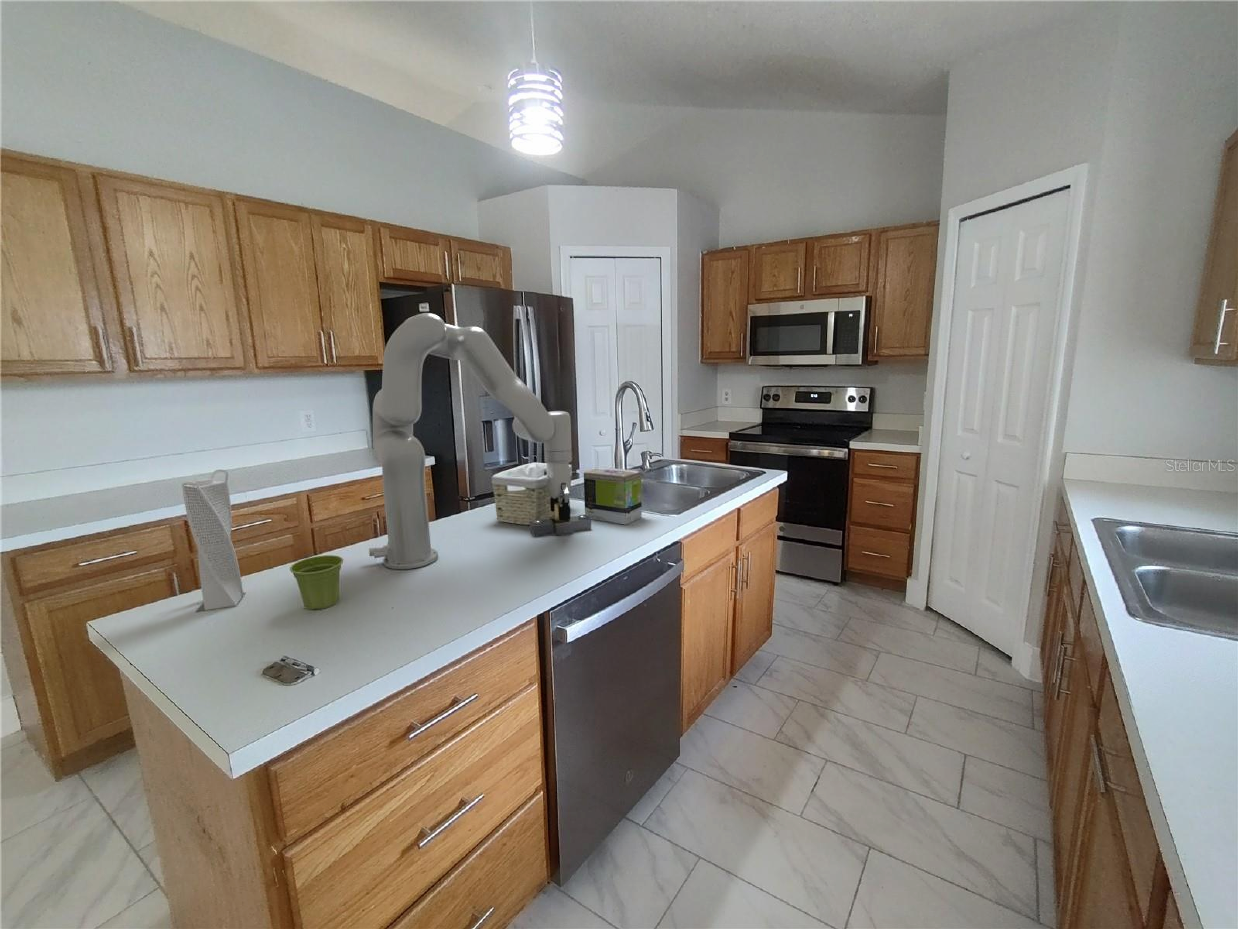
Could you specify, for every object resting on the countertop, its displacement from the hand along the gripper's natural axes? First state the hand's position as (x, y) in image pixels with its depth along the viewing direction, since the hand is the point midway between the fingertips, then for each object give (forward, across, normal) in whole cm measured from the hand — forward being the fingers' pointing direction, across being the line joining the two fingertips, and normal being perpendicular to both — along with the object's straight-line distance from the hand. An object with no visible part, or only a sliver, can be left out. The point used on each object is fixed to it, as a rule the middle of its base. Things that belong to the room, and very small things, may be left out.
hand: (560, 515), depth 156 cm
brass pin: (+4, 0, 0) cm, 4 cm away
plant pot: (+5, +28, -57) cm, 64 cm away
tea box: (+5, -6, +18) cm, 20 cm away
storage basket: (+5, -18, -4) cm, 19 cm away
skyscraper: (+5, +20, -76) cm, 79 cm away
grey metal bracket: (+4, 0, 0) cm, 4 cm away
